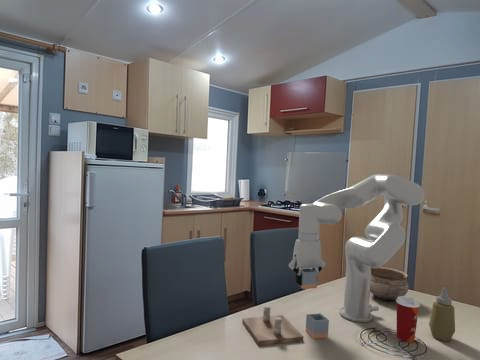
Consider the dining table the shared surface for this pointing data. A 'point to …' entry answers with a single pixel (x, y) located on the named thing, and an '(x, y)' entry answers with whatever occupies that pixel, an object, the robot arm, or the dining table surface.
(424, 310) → the dining table surface
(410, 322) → the paper cup
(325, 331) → the sleeve
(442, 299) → the squeeze bottle
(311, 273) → the sleeve
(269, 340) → the pin board
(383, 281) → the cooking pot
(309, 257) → the robot arm
